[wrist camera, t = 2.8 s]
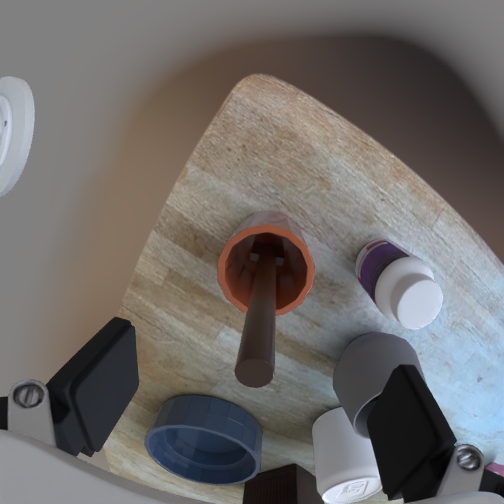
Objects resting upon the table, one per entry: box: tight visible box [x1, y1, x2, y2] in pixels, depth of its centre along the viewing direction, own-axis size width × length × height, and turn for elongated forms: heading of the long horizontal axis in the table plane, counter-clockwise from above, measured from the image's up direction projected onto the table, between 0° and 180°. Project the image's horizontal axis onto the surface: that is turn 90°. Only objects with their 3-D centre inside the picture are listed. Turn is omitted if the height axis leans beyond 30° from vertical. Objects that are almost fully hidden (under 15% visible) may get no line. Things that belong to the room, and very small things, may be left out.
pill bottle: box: [355, 239, 443, 330], centre depth 22 cm, size 5×5×10 cm
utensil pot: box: [218, 211, 315, 316], centre depth 24 cm, size 7×7×8 cm
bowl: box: [144, 395, 263, 486], centre depth 32 cm, size 15×15×6 cm
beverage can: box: [312, 407, 382, 504], centre depth 27 cm, size 8×8×12 cm
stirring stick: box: [235, 241, 285, 388], centre depth 18 cm, size 3×1×18 cm, turn 81°
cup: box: [333, 333, 427, 439], centre depth 25 cm, size 10×9×10 cm
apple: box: [485, 463, 504, 477], centre depth 34 cm, size 10×9×10 cm
